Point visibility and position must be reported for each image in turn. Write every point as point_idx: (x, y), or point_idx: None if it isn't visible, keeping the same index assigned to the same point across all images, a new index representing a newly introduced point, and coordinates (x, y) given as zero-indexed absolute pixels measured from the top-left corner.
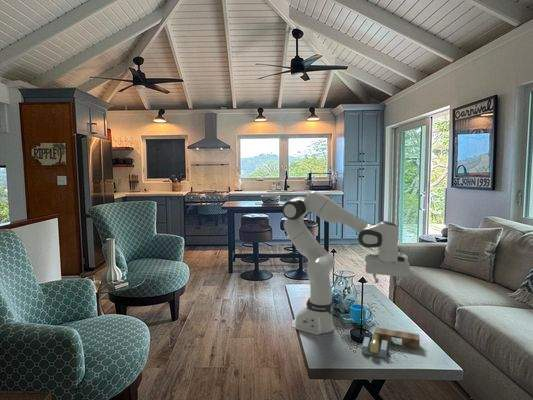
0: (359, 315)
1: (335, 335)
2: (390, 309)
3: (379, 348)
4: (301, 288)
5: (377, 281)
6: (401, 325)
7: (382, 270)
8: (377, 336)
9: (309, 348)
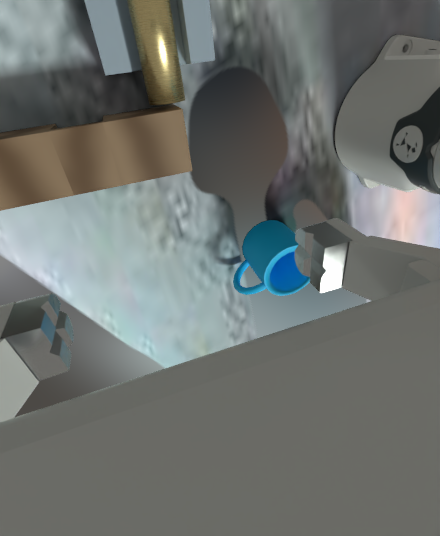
0: (272, 239)
1: (324, 79)
2: None
3: (127, 20)
4: None
5: (320, 232)
6: (129, 300)
7: (426, 408)
8: (158, 74)
9: None
